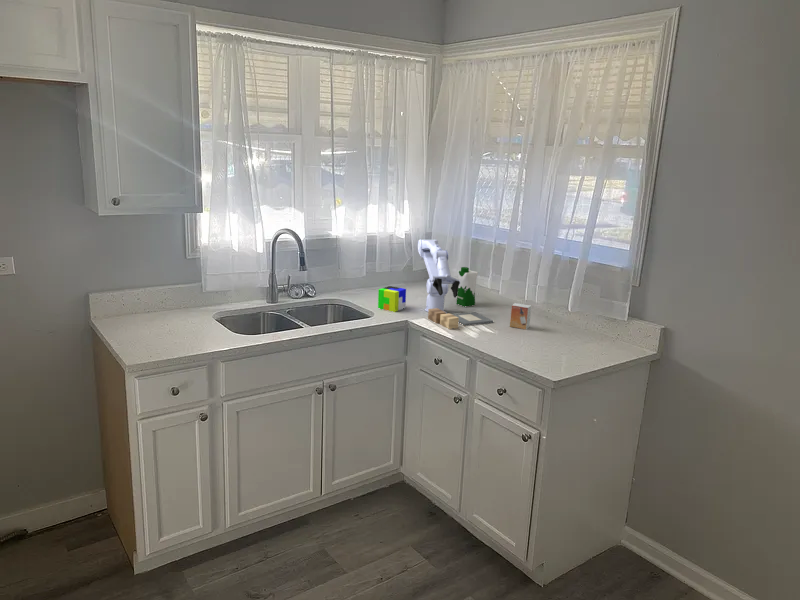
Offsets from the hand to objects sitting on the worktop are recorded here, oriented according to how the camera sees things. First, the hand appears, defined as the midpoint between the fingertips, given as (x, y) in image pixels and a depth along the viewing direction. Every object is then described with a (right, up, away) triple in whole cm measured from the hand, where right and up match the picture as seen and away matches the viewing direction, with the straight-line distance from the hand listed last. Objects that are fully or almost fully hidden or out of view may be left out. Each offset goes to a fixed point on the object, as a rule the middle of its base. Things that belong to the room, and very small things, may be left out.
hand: (448, 295), depth 282 cm
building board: (+11, -12, +11) cm, 19 cm away
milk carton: (+12, -5, +38) cm, 40 cm away
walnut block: (-5, -12, +7) cm, 15 cm away
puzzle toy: (-27, -7, +26) cm, 38 cm away
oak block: (0, -14, -1) cm, 14 cm away
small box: (+33, -15, +2) cm, 36 cm away
